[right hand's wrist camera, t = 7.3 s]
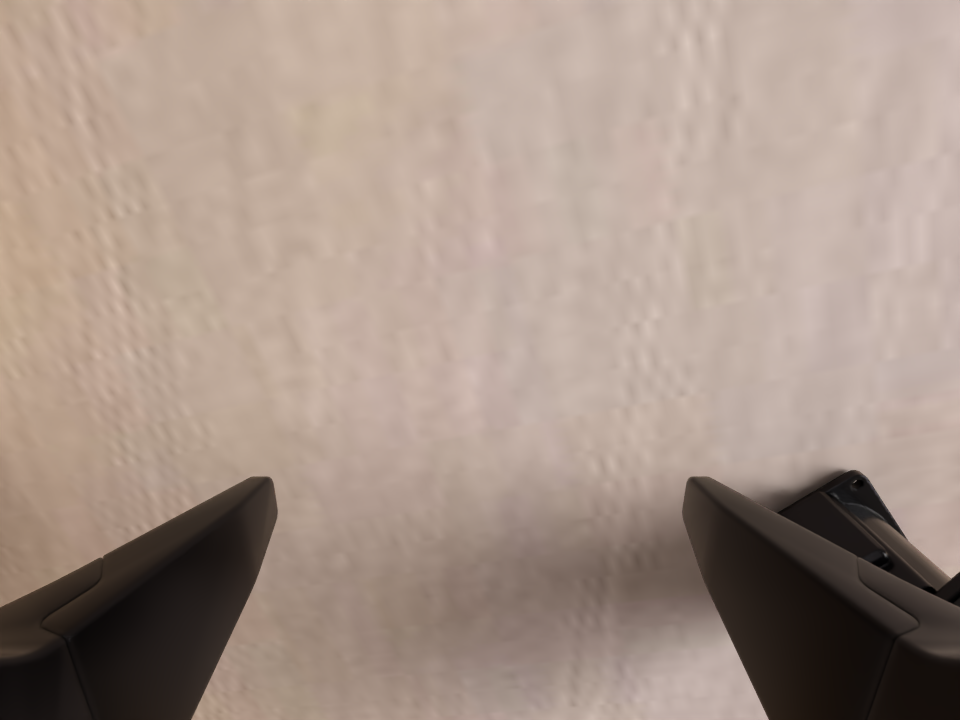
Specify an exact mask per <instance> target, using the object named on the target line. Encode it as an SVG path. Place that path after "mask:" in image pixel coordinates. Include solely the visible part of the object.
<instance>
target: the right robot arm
mask: <svg viewBox="0 0 960 720" xmlns="http://www.w3.org/2000/svg"><path fill="white" fill-rule="evenodd" d="M855 480H857V481H856V482H855V483H854V484H852V483H853V482H854V481H855ZM277 513H278V510H277V503H276V496H275V490H274V484H273V481H272V479H271V478H270V477H250V478H248V479H246V480H244V481H243V482H241V483H239V484H237V485H235V486H233V487H231V488H229V489H228V490H226V491H224V492H222V493H220V494H218V495H216V496H214V497H213V498H211V499H209V500H207V501H205V502H203V503H201V504H199V505H198V506H196V507H194V508H192V509H190V510H188V511H186V512H185V513H183V514H181V515H179V516H177V517H175V518H173V519H171V520H170V521H168V522H166V523H164V524H162V525H160V526H158V527H156V528H155V529H153V530H151V531H149V532H147V533H145V534H143V535H141V536H140V537H138V538H136V539H134V540H132V541H130V542H128V543H126V544H125V545H123V546H121V547H119V548H117V549H115V550H113V551H112V552H110V553H108V554H106V555H104V557H103V558H98V559H96V560H94V561H93V562H91V563H89V564H87V565H85V566H83V567H81V568H80V569H78V570H76V571H74V572H72V573H70V574H68V575H66V576H64V577H62V578H60V579H58V580H56V581H54V582H52V583H50V584H48V585H46V586H44V587H42V588H40V589H38V590H36V591H34V592H32V593H30V594H28V595H25V596H23V597H21V598H19V599H17V600H15V601H13V602H11V603H9V604H6V605H4V606H2V607H0V720H191V719H192V717H193V715H194V712H195V710H196V708H197V706H198V704H199V702H200V700H201V697H202V695H203V693H204V691H205V689H206V687H207V685H208V683H209V680H210V678H211V676H212V674H213V672H214V670H215V668H216V666H217V663H218V661H219V659H220V657H221V655H222V653H223V651H224V648H225V646H226V644H227V642H228V640H229V638H230V636H231V634H232V631H233V629H234V627H235V625H236V623H237V621H238V619H239V617H240V614H241V612H242V610H243V608H244V606H245V604H246V602H247V599H248V597H249V595H250V593H251V591H252V589H253V586H254V584H255V582H256V579H257V576H258V574H259V571H260V568H261V565H262V562H263V559H264V556H265V553H266V550H267V547H268V544H269V541H270V538H271V535H272V532H273V529H274V526H275V523H276V520H277ZM682 513H683V520H684V523H685V526H686V529H687V532H688V535H689V538H690V541H691V544H692V547H693V550H694V553H695V556H696V559H697V562H698V565H699V568H700V571H701V574H702V576H703V579H704V582H705V584H706V586H707V589H708V591H709V593H710V595H711V597H712V600H713V602H714V604H715V606H716V608H717V610H718V612H719V614H720V617H721V619H722V621H723V623H724V625H725V627H726V629H727V631H728V634H729V636H730V638H731V640H732V642H733V644H734V646H735V649H736V651H737V653H738V655H739V657H740V659H741V661H742V663H743V666H744V668H745V670H746V672H747V674H748V676H749V678H750V680H751V683H752V685H753V687H754V689H755V691H756V693H757V695H758V697H759V700H760V702H761V704H762V706H763V708H764V710H765V712H766V715H767V717H768V719H769V720H960V572H959V573H958V574H957V575H955V576H954V577H953V578H952V579H951V578H950V577H949V576H947V575H946V574H945V573H944V572H943V571H942V570H941V569H939V568H938V567H937V566H936V565H935V564H934V563H933V562H931V561H930V560H929V559H928V558H927V557H926V556H925V555H923V554H922V553H921V552H920V551H919V550H918V549H917V548H915V547H914V546H913V545H912V544H911V543H910V542H909V541H908V540H907V538H906V537H905V535H904V534H903V532H902V531H901V529H900V528H899V526H898V524H897V523H896V521H895V520H894V518H893V517H892V515H891V514H890V512H889V510H888V509H887V507H886V506H885V504H884V503H883V501H882V500H881V498H880V497H879V495H878V493H877V492H876V490H875V489H874V487H873V486H872V484H871V483H870V481H869V480H868V478H867V477H866V476H864V475H863V474H862V473H861V472H859V471H857V470H851V471H848V472H846V473H844V474H843V475H841V476H839V477H838V478H836V479H834V480H833V481H831V482H829V483H827V484H826V485H824V486H822V487H821V488H819V489H817V490H816V491H814V492H812V493H810V494H809V495H807V496H805V497H804V498H802V499H800V500H799V501H797V502H795V503H793V504H792V505H790V506H788V507H787V508H785V509H783V510H782V511H780V512H778V513H775V512H774V511H772V510H770V509H768V508H766V507H764V506H762V505H761V504H759V503H757V502H755V501H753V500H751V499H749V498H747V497H746V496H744V495H742V494H740V493H738V492H736V491H734V490H732V489H731V488H729V487H727V486H725V485H723V484H721V483H719V482H717V481H716V480H714V479H712V478H710V477H690V478H689V479H688V481H687V484H686V490H685V496H684V503H683V510H682Z"/></svg>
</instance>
